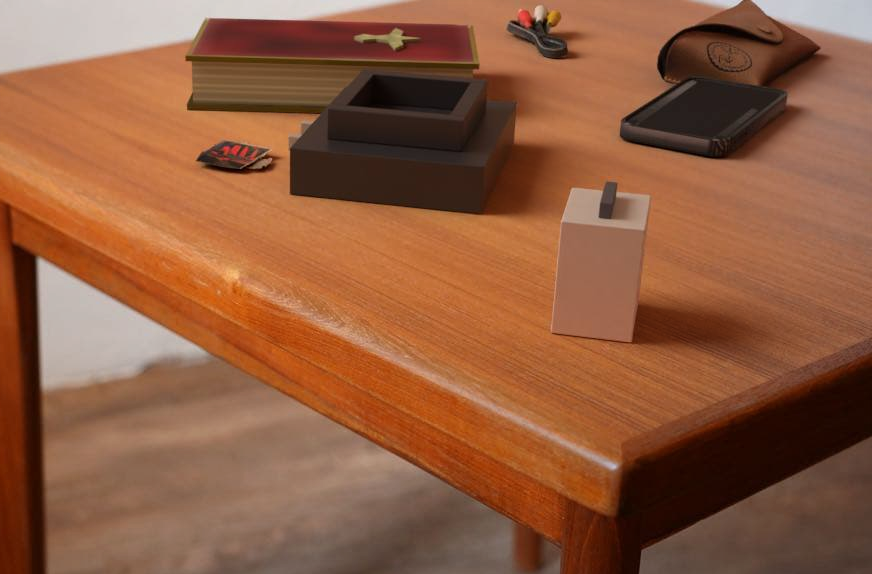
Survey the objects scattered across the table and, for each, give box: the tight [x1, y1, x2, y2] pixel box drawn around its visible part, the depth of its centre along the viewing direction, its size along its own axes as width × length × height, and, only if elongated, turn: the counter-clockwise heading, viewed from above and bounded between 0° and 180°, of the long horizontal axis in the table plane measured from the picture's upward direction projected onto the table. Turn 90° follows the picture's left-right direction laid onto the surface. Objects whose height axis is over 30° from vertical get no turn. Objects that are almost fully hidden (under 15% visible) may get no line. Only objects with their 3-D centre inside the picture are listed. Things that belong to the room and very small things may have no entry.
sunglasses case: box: [656, 0, 822, 87], centre depth 117 cm, size 18×7×7 cm
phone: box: [619, 76, 789, 157], centre depth 104 cm, size 8×1×15 cm
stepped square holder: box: [287, 69, 518, 215], centre depth 93 cm, size 14×14×5 cm
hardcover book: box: [185, 17, 480, 114], centre depth 109 cm, size 12×21×4 cm, turn 87°
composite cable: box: [505, 4, 569, 59], centre depth 123 cm, size 10×5×2 cm, turn 179°
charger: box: [550, 181, 652, 343], centre depth 72 cm, size 4×5×7 cm
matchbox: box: [195, 139, 274, 170], centre depth 95 cm, size 5×5×1 cm
